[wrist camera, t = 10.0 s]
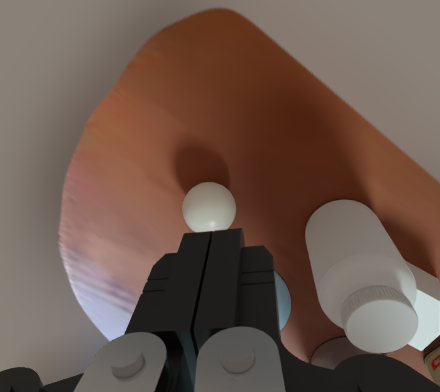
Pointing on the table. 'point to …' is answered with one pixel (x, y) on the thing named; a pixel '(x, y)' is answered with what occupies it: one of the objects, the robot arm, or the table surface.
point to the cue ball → (209, 207)
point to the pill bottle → (361, 277)
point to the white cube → (426, 308)
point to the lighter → (434, 365)
